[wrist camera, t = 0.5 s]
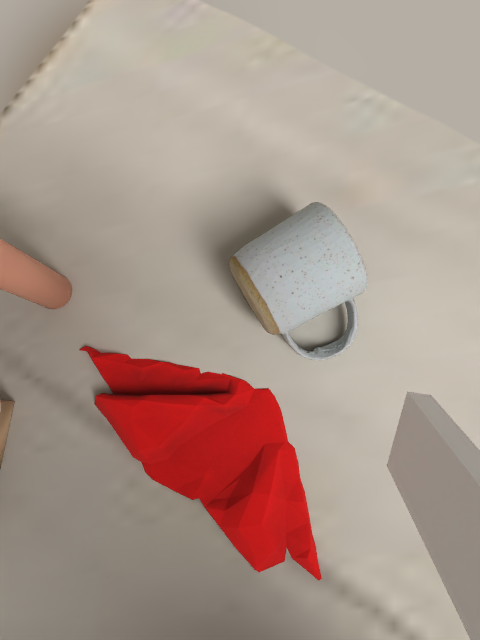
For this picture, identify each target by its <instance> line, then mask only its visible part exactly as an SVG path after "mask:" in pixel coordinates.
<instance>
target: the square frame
mask: <svg viewBox="0 0 480 640" xmlns="http://www.w3.org/2000/svg"><path fill="white" fill-rule="evenodd" d="M13 406H14V401H8V400H1V399H0V408H1V411H0V468H1V463H2V458H3V454H4V449H5V444H6V439H7V435H8V430H9V425H10V420H11V416H12V411H13Z"/></svg>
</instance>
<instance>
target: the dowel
mask: <svg viewBox="0 0 480 640" xmlns="http://www.w3.org/2000/svg"><path fill="white" fill-rule="evenodd" d="M0 289H2V290H5V291H7V292H10V293H12V294H14V295H17V296H19V297H22V298H24V299H27V300H29V301H32V302H34V303H37V304H39V305H42V306H44V307H46V308H50V309H57V308H60V307H62V306H64V305H65V304H66V303H67V302H68V301H69V299H70V297H71V294H72V287H71V284H70V282H69V281H68V280H67V279H66V278H65V277H63V276H62V275H60V274H58V273H57V272H55V271H53V270H52V269H50V268H48V267H47V266H45V265H43V264H42V263H40V262H38V261H37V260H35V259H33V258H32V257H30V256H28V255H26V254H25V253H23V252H21V251H20V250H18V249H16V248H15V247H13V246H11V245H10V244H8V243H6V242H5V241H3V240H1V239H0Z"/></svg>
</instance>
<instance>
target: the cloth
mask: <svg viewBox="0 0 480 640" xmlns="http://www.w3.org/2000/svg"><path fill="white" fill-rule="evenodd" d="M80 350H82V351H87V352H88V354H89V355H90V357H91V359H92V361H93V362H94V364H95V365H96V367H97V369H98V370H99V372H100V374H101V375H102V377H103V378H104V380H105V381H106V383H107V384H108V386H109V387H110V389H111V390H112V392H113V393H114V394H106V393H101V394H99V395H97V396H95V405H96V406H97V408H98V409H99V410H100V411H101V413H102V414H103V415H104V416H105V417H106V418H107V420H108V421H109V423H110V424H111V425H112V427H113V428H114V430H115V431H116V433H117V434H118V436H119V437H120V439H121V440H122V442H123V443H124V444H125V446H126V447H127V449H128V450H129V452H130V453H131V455H132V456H133V457H134V458H136V459H137V460H139V461H141V462H142V465H143V467H144V470H145V472H146V473H147V474H148V475H149V476H150V477H151V478H152V479H153V480H155V481H156V482H158V483H160V484H162V485H164V486H166V487H168V488H170V489H172V490H174V491H176V492H178V493H180V494H182V495H184V496H186V497H188V498H190V499H192V500H194V499H197V498H199V499H200V500H201V502H202V504H203V505H204V507H205V508H206V510H207V511H208V512H209V513H210V515H211V516H212V517H213V519H214V520H215V521H216V523H217V524H218V525H219V527H220V528H221V529H222V531H223V532H224V533H225V535H226V536H227V537H228V538H229V540H230V541H231V542H232V544H233V545H234V546H235V547H236V549H237V550H238V551H239V552H240V553H241V554H242V555H243V557H244V558H245V559H246V560H247V561H248V562H249V563H250V565H251V566H252V567H253V568H254V569H255V570H256V571H258V572H261V571H263V570H266V569H268V568H270V567H273V566H275V565H277V564H279V563H282V562H284V561H285V554H286V547H287V549H288V551H289V553H290V555H291V557H292V559H293V560H295V561H296V562H297V563H299V564H300V565H301V566H302V567H303V568H305V569H306V570H307V571H308V572H309V573H311V574H312V575H313V576H314V577H315V578H316V579H318V580H320V579H322V578H321V574H320V569H319V564H318V560H317V553H316V546H315V542H314V539H313V535H312V530H311V524H310V518H309V513H308V507H307V502H306V496H305V492H304V489H303V485H302V482H301V479H300V474H299V466H298V460H297V456H296V452H295V448H294V447H293V446H292V445H291V444H290V443H289V442H288V439H287V434H286V430H285V425H284V421H283V417H282V412H281V409H280V407H279V405H278V402H277V400H276V398H275V396H274V395H273V394H272V392H271V391H270V390H269V388H267V389H254V388H253V387H252V386H251V385H250V384H249V383H247V382H246V381H244V380H241V379H238V378H235V377H232V376H229V375H226V374H223V373H222V374H217V373H212V372H205V373H202V374H201V373H200V370H199V368H194V367H188V366H182V365H177V364H173V363H170V362H160V361H156V360H151V359H131V358H130V357H129V356H128V355H124V354H116V353H100V352H99V351H97V350H95V349H93V348H90V347H87V346H85V347H83V348H81V349H80Z"/></svg>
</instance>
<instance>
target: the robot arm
mask: <svg viewBox="0 0 480 640" xmlns="http://www.w3.org/2000/svg"><path fill="white" fill-rule="evenodd" d="M0 411H1V408H0ZM387 467H388V469H389V471H390V473H391V475H392V477H393V479H394V481H395V483H396V486H397V488H398V490H399V492H400V494H401V496H402V498H403V500H404V502H405V504H406V506H407V508H408V510H409V513H410V515H411V517H412V519H413V521H414V523H415V525H416V527H417V529H418V531H419V533H420V535H421V537H422V540H423V542H424V544H425V546H426V548H427V550H428V552H429V554H430V556H431V558H432V560H433V562H434V564H435V567H436V569H437V571H438V573H439V575H440V577H441V579H442V581H443V583H444V585H445V587H446V589H447V591H448V594H449V596H450V598H451V600H452V602H453V604H454V606H455V608H456V610H457V612H458V614H459V616H460V619H461V621H462V623H463V625H464V627H465V629H466V631H467V633H468V635H469V637H470V639H471V640H480V450H479V449H478V448H477V447H476V446H475V445H474V443H473V442H472V441H471V440H470V439H469V438H468V437H467V435H466V434H465V433H464V432H463V431H462V430H461V429H460V428H459V426H458V425H457V424H456V423H455V422H454V421H453V420H452V418H451V417H450V416H449V415H448V414H447V413H446V412H445V410H444V409H443V408H442V407H441V406H440V405H439V404H438V402H437V401H436V400H435V399H434V398H433V397H432V396H431V395H427V394H419V393H412V392H407V394H406V398H405V401H404V405H403V409H402V412H401V416H400V420H399V423H398V427H397V431H396V434H395V438H394V442H393V445H392V449H391V453H390V456H389V460H388V464H387Z"/></svg>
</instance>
